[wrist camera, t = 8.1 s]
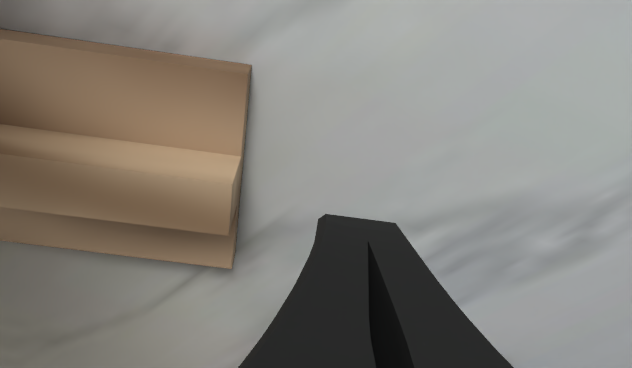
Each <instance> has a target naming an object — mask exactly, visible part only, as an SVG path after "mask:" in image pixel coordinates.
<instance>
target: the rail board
mask: <svg viewBox="0 0 632 368" xmlns="http://www.w3.org/2000/svg"><path fill="white" fill-rule="evenodd" d="M251 66H252V65H248V64H241V63H234V62H227V61H220V60H213V59H206V58H199V57H192V56H185V55H179V54H172V53H165V52H158V51H151V50H144V49H137V48H130V47H123V46H116V45H109V44H102V43H95V42H88V41H81V40H74V39H67V38H60V37H53V36H47V35H40V34H33V33H26V32H19V31H12V30H5V29H0V241H8V242H17V243H25V244H33V245H41V246H49V247H57V248H65V249H73V250H82V251H90V252H98V253H106V254H114V255H122V256H130V257H139V258H147V259H155V260H163V261H171V262H179V263H187V264H195V265H204V266H212V267H220V268H228V269H232V264H233V260H234V256H235V249H236V238H237V226H238V215H239V203H240V192H241V180H242V169H243V158H244V146H245V135H246V123H247V112H248V100H249V89H250V78H251Z"/></svg>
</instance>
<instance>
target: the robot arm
mask: <svg viewBox="0 0 632 368" xmlns="http://www.w3.org/2000/svg"><path fill="white" fill-rule="evenodd" d="M238 368H513V367H512V366H511V364H510V363H509V362H508V361H507V360H506V359H505V358H504V357H503V356H502V355H501V354H500V353H499V352H498V351H497V350H496V349H495V348H494V347H493V346H492V345H491V343H490V342H489V341H488V340H487V339H486V338H485V337H484V336H483V335H482V333H481V332H480V331H479V330H478V329H477V328H476V327H475V326H474V324H473V323H472V322H471V321H470V320H469V319H468V318H467V316H466V315H465V314H464V313H463V312H462V311H461V309H460V308H459V307H458V306H457V305H456V303H455V302H454V301H453V300H452V298H451V297H450V296H449V295H448V293H447V292H446V291H445V290H444V288H443V287H442V286H441V285H440V283H439V282H438V281H437V279H436V278H435V277H434V275H433V274H432V273H431V271H430V270H429V269H428V267H427V266H426V265H425V263H424V262H423V260H422V259H421V258H420V256H419V255H418V254H417V252H416V251H415V249H414V248H413V247H412V245H411V244H410V242H409V241H408V240H407V238H406V237H405V236H404V234H403V233H402V231H401V230H400V229H399V227H398V226H397V225H396V223H391V222H383V221H375V220H367V219H360V218H352V217H344V216H337V215H329V214H325V215H324V216H322V217H321V218H319V219H318V225H317V230H316V236H315V242H314V245H313V247H312V250H311V252H310V255H309V257H308V260H307V262H306V264H305V266H304V268H303V270H302V272H301V274H300V276H299V278H298V280H297V282H296V284H295V285H294V287H293V289H292V291H291V292H290V294H289V296H288V297H287V299H286V300H285V302H284V304H283V305H282V307H281V309H280V310H279V312H278V313H277V315H276V317H275V318H274V320H273V321H272V323H271V324H270V326H269V327H268V329H267V330H266V332H265V333H264V334H263V336H262V337H261V339H260V340H259V341H258V343H257V344H256V345H255V347H254V348H253V349H252V351H251V352H250V353H249V355H248V356H247V357H246V358H245V360H244V361H243V362H242V364H241V365H240V366H239V367H238Z"/></svg>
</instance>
